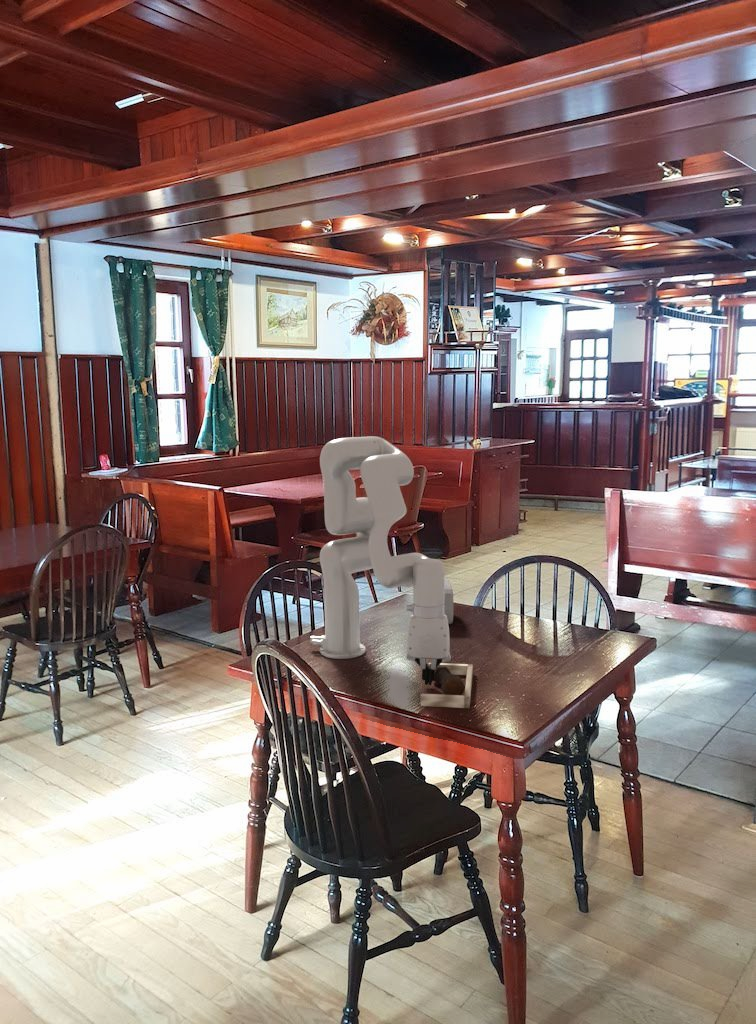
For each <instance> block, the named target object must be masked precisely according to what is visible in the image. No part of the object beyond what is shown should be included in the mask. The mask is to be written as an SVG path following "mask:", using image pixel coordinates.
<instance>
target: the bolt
mask: <svg viewBox="0 0 756 1024" xmlns="http://www.w3.org/2000/svg"><path fill="white" fill-rule="evenodd" d="M434 682H435V683H436V684H438V685H441V686H440V689H441V691H442V693H443V695H462V696H463V693H465V686H466V684H465V683H464V682H463V680H462V679H461V677H460V675H451V673H450V671H449V669H448V668H447V666H446V665H440V664H439V665H438V666H437V667H436V668H435V681H434Z"/></svg>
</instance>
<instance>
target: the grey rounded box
mask: <svg viewBox="0 0 756 1024" xmlns="http://www.w3.org/2000/svg"><path fill="white" fill-rule="evenodd" d="M444 614H445V615H446V616H447V619H448V625H451V624H453V621H454V591H453V588H452V585H451V582H450V580H449V579H448V577H444Z"/></svg>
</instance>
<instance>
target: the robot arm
mask: <svg viewBox="0 0 756 1024" xmlns="http://www.w3.org/2000/svg"><path fill="white" fill-rule="evenodd" d="M319 455H320V456H319V467H320V472H321V476H322V480H323V499H324V502H323V503H324V505H323V506H324V525H325V529H326V530H327V532H328V533H329V534H330V535H333V536H344V535H351V534H356V536H355V537H346V538H341V539H340V538H339V539H335V540H331V541H329V542H327V543H326V544H324V545H323V546H322V547H321V549H320V552H319V563H320V567H321V571H322V576H323V577H322V578H323V591H324V592H323V597H324V598H323V599H324V634H323V635H321V636H317V635H311V636H310V637H309V638H310V639H309V642H310V643H311V644H312V645H314V646H319V645H320V647H319V653H320V655H322V656H324V657H326V658H329V659H336V660H337V659H338V660H347V659H354V658H357V657H360V656H362V655H364V654H365V652H366V646H365V645H364V644H362V643H361V641H360V639H361V635H360V634H361V633H360V590H359V587H358V584H357V582H356V581H355V578H354V577H353V576H352V574H354V573H358V572H359V573H360V572H364V571H368V570H373V573H374V575H375V578H376V579H377V582H378V583H379V584H380V585H381V586H382V587H384V588H386V589H394V588H398V587H403V586H408V585H412V603H411V604H407V606H406V611H407V612H411V614H410V615H409V619H408V624H407V635H406V636H407V637H406V641H407V642H406V653H407V654H406V660H407V661H412V662H415V663H416V664H417V665H418V666H420V668H421V680H422V681H424V686H432V685H433V684H432V683H433V682H435V668H436V667H437V666H438V665H439V664H440V663H447V662H450V661H451V659H452V658H451V652H450V649H451V648H450V647H451V645H450V644H451V643H450V641H451V640H450V639H451V637H450V627H449V625H450V624H449V625H448V619H447V616H446V615H445V614H444V578H445V564H444V562H443V561H441V560H440V559H436V558H430V557H429V556H426V555H425V554H423V553H420V552H410V553H403V554H399V555H393V556H392V555H391V552H390V550H389V545H388V535H389V532H390V530H391V528H392V526H393V525H394V524H395V523H396V522H398V521H399V520H401V519H402V518H403V517H405V515H406V514H407V512H408V511H407V507H406V503H405V500H404V497H403V493H402V491H401V486H407V485H409V484H410V483H411V482H412V480H413V478H414V474H415V469H414V465H413V463H412V461H411V459H410V458H409V457H408V455H406V454H405V453H404V452H403V451H402V450H400V448H398V447H397V446H395V445H393V444H392V443H390V442H389V441H388V440H386V439H385V438H382V437H380V436H375V435H374V436H373V435H372V436H369V435H368V436H351V437H341V438H336V439H332V440H330V441H328V442H327V443H325V445H324V446H323V447H322V449H321V452H320V454H319ZM354 470H359V474H360V479H361V481H362V484H363V485H362V486H363V488H364V490H365V493H366V497H365V496H364V497H363V496H362V497H357V494H356V493H357V492H356V491H357V488H356V482H355V479H354V478H353V476H352V474H351V473H350V472H349V471H354ZM427 659H429V660H430V659H431V662H430V663H431V664H430V666H428V664H429V663H427Z"/></svg>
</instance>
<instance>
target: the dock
mask: <svg viewBox="0 0 756 1024" xmlns="http://www.w3.org/2000/svg"><path fill="white" fill-rule="evenodd" d="M427 664H428V666H430V664H431V662H428V663H427ZM440 665H446V666H447V668H448V669H449V671H450V673H451V676H466V678H465V689H464V695H463V694H462V695H445V694H440V693H439V694H437V693H420V707H434V708H435V707H436V708H437V707H439V708H454V709H455V708H459V709H470V705H471V694H472V685H473V673H474V672H473V671H474V670H473V669H474V668H473V667H474V665H473V664H471V663H467V664H466V663H450V662H449V663H447V662H442V663H440Z"/></svg>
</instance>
